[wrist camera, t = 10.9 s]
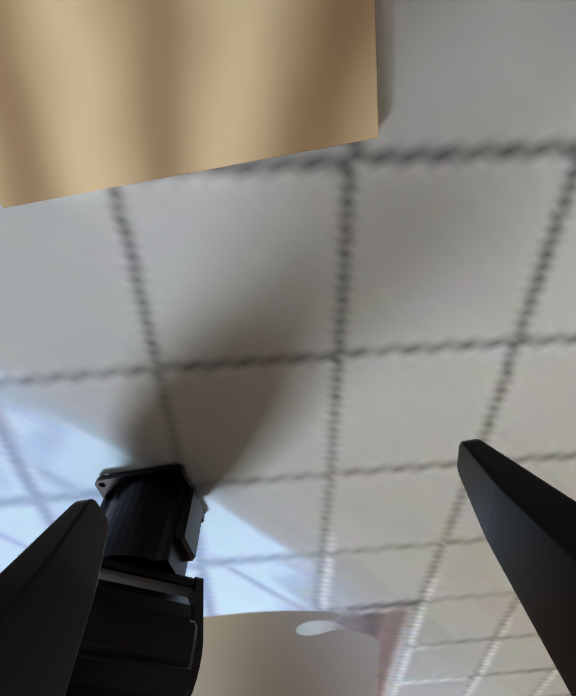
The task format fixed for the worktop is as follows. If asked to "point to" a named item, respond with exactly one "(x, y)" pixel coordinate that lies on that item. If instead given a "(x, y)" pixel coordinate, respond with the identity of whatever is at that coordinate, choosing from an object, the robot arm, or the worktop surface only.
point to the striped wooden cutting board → (175, 87)
